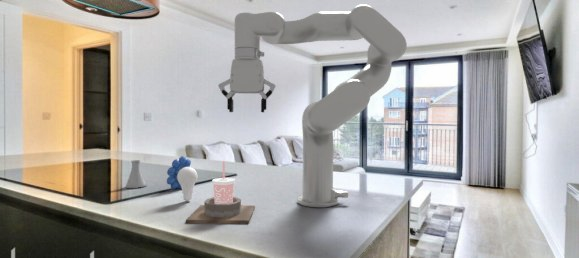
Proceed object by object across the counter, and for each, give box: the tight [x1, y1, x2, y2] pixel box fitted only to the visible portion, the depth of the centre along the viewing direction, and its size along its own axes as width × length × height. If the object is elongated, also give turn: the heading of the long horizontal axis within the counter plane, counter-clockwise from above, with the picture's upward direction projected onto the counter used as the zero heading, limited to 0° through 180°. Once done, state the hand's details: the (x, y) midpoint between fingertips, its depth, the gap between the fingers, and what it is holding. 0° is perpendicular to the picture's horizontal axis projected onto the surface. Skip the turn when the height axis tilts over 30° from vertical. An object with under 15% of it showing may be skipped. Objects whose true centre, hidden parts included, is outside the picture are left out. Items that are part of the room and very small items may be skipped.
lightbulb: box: [177, 166, 198, 202], centre depth 107 cm, size 6×6×11 cm
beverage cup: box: [211, 160, 236, 204], centre depth 93 cm, size 6×6×14 cm
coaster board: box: [185, 196, 256, 224], centre depth 93 cm, size 16×14×4 cm
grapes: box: [166, 156, 193, 191], centre depth 125 cm, size 12×7×12 cm, turn 151°
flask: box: [125, 159, 147, 189], centre depth 128 cm, size 7×7×10 cm
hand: (247, 112), depth 104 cm, fingers open, 9 cm apart
